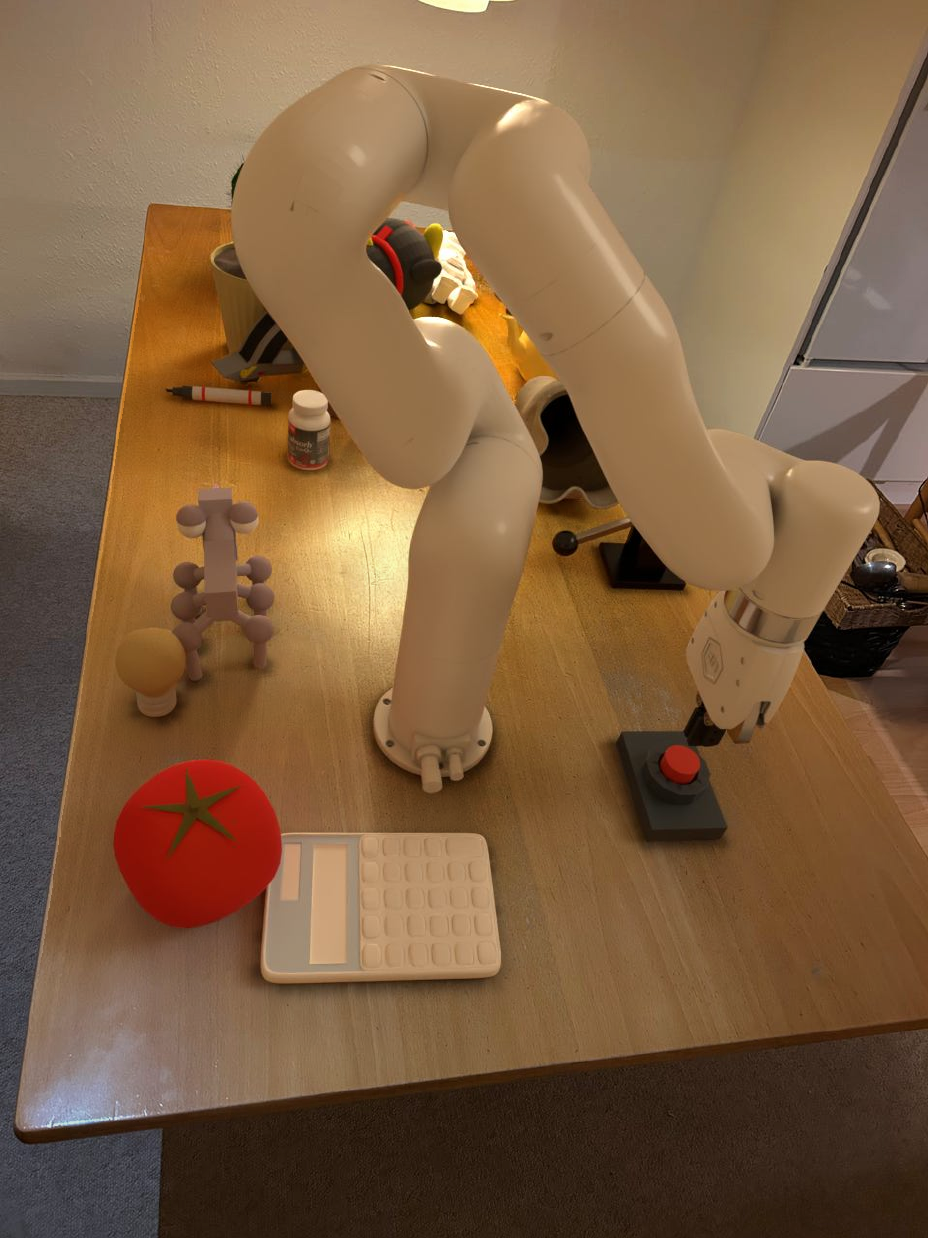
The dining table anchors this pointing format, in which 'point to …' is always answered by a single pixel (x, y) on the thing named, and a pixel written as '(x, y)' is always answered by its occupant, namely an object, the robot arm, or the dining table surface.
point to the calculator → (380, 909)
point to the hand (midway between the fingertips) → (700, 739)
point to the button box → (668, 790)
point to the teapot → (526, 353)
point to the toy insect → (220, 576)
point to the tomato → (197, 843)
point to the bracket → (637, 565)
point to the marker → (222, 395)
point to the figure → (453, 276)
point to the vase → (562, 445)
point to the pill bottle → (308, 430)
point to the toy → (407, 257)
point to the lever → (586, 536)
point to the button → (680, 764)
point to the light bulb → (151, 668)
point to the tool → (260, 355)
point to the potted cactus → (235, 291)
